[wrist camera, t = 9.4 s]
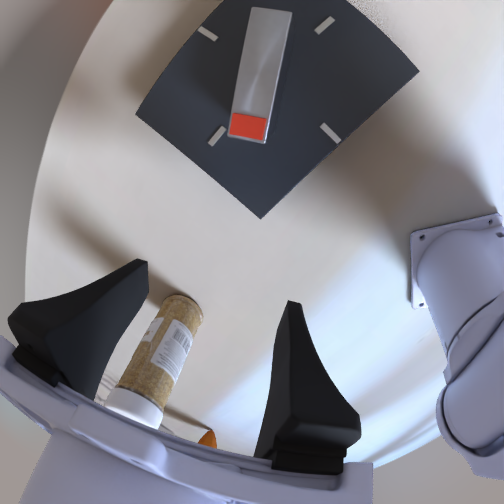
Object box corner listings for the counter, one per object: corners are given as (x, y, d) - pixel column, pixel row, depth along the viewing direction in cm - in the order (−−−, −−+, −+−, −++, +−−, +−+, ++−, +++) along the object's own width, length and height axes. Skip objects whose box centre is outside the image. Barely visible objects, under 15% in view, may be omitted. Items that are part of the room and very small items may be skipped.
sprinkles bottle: (158, 291, 28) (91, 399, 16) (199, 294, 27) (140, 416, 15) (170, 324, 30) (118, 426, 19) (209, 328, 29) (164, 441, 18)
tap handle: (263, 25, 12) (250, 4, 8) (295, 30, 12) (292, 10, 8) (243, 128, 15) (224, 137, 12) (273, 134, 15) (264, 145, 12)
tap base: (280, -28, 11) (275, -47, 9) (403, 74, 14) (421, 71, 11) (155, 110, 18) (133, 114, 16) (266, 203, 21) (260, 220, 18)
